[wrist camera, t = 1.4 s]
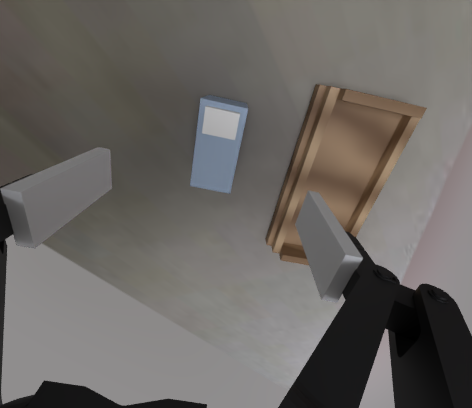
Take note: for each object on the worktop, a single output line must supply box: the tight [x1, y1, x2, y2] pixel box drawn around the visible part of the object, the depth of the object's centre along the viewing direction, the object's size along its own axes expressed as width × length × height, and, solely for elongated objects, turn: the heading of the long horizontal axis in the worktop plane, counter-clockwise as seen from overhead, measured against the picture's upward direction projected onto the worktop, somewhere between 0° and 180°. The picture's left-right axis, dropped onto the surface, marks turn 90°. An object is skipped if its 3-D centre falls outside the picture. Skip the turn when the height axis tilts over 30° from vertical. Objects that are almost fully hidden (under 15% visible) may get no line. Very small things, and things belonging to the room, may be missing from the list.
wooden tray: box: [266, 85, 427, 265], centre depth 30 cm, size 22×12×4 cm, turn 168°
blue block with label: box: [190, 95, 248, 194], centre depth 26 cm, size 9×4×8 cm, turn 168°
